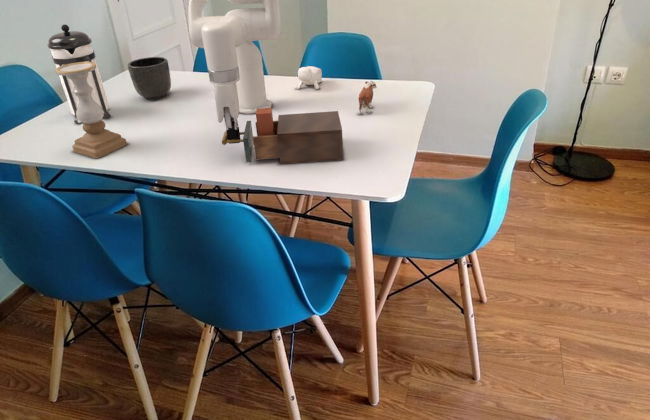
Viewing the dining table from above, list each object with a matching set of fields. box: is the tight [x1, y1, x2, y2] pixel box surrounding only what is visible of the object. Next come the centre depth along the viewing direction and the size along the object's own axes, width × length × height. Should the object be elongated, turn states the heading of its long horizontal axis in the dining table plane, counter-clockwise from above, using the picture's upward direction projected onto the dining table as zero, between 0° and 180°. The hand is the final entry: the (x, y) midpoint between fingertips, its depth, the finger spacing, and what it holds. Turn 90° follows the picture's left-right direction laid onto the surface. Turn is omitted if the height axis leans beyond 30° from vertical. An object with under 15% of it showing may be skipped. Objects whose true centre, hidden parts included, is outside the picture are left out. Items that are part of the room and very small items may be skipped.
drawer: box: [220, 120, 280, 163], centre depth 133 cm, size 22×12×7 cm, turn 93°
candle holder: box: [54, 62, 128, 159], centre depth 139 cm, size 11×11×24 cm
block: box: [255, 107, 275, 136], centre depth 132 cm, size 4×4×10 cm
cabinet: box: [277, 110, 344, 165], centre depth 134 cm, size 17×14×9 cm
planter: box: [127, 56, 172, 101], centre depth 180 cm, size 14×14×13 cm
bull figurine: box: [358, 79, 378, 115], centre depth 159 cm, size 4×13×8 cm, turn 161°
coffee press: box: [47, 23, 112, 125], centre depth 162 cm, size 17×16×30 cm
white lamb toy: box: [295, 65, 323, 90], centre depth 182 cm, size 9×8×15 cm
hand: (234, 142), depth 133 cm, fingers closed
